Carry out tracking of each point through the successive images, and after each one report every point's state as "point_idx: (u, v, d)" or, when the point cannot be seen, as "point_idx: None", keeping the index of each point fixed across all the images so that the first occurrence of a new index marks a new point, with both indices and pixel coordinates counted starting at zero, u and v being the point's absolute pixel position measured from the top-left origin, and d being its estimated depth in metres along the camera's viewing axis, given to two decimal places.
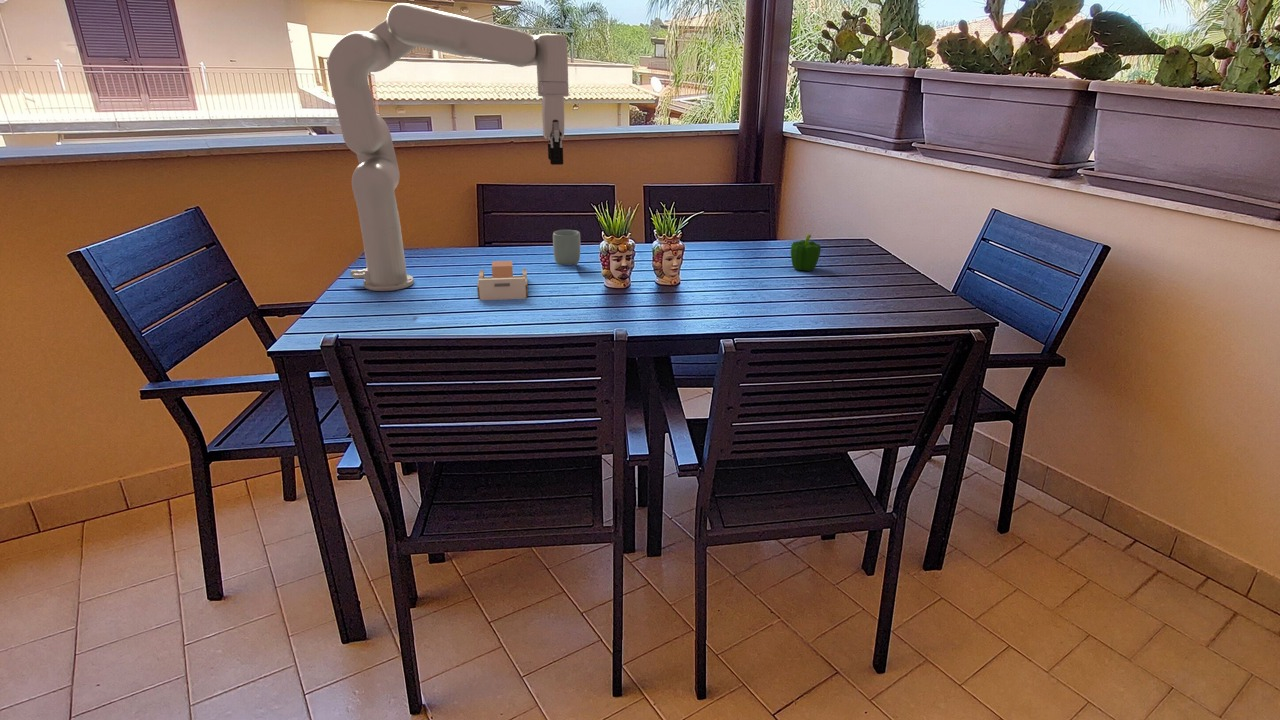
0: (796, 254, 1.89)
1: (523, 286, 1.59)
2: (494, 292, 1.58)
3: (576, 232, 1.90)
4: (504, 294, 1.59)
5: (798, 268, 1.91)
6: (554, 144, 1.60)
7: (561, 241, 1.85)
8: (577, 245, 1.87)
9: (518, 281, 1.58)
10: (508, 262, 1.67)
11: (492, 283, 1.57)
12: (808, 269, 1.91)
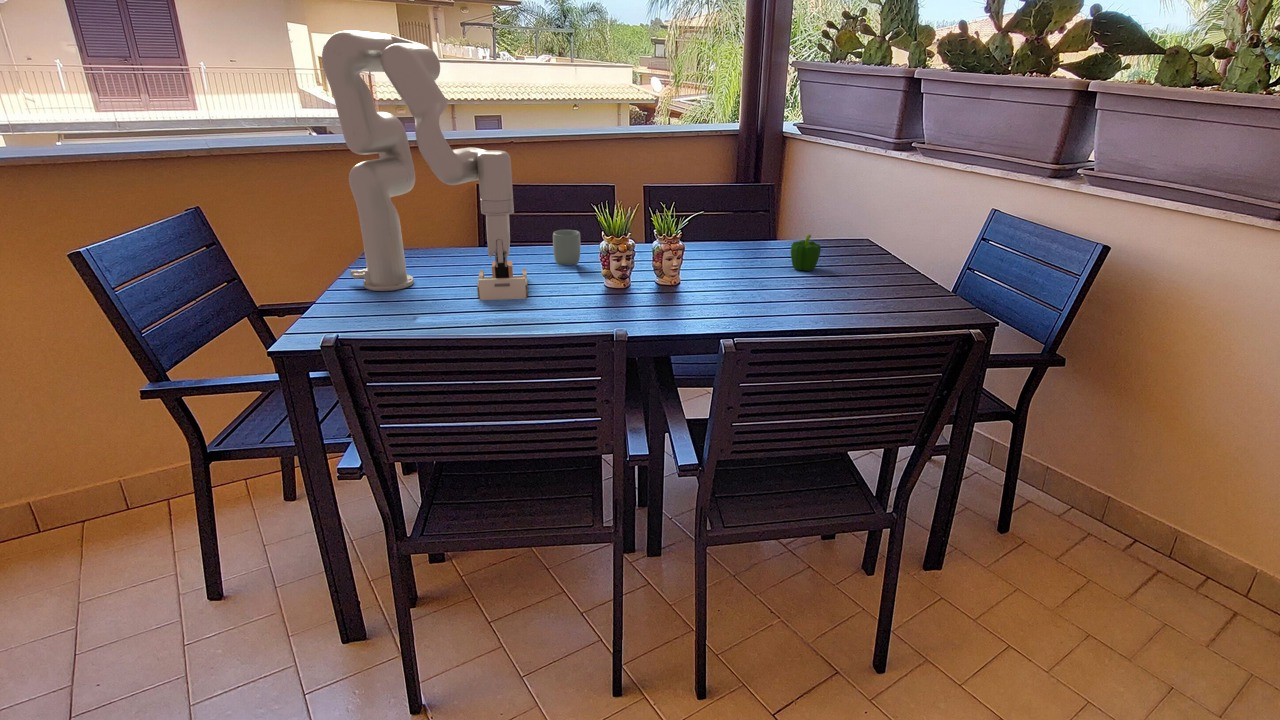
0: (796, 254, 1.89)
1: (523, 286, 1.59)
2: (494, 292, 1.58)
3: (576, 232, 1.90)
4: (504, 294, 1.59)
5: (798, 268, 1.91)
6: (498, 264, 1.56)
7: (561, 241, 1.85)
8: (577, 245, 1.87)
9: (518, 281, 1.58)
10: (508, 262, 1.67)
11: (492, 283, 1.57)
12: (808, 269, 1.91)
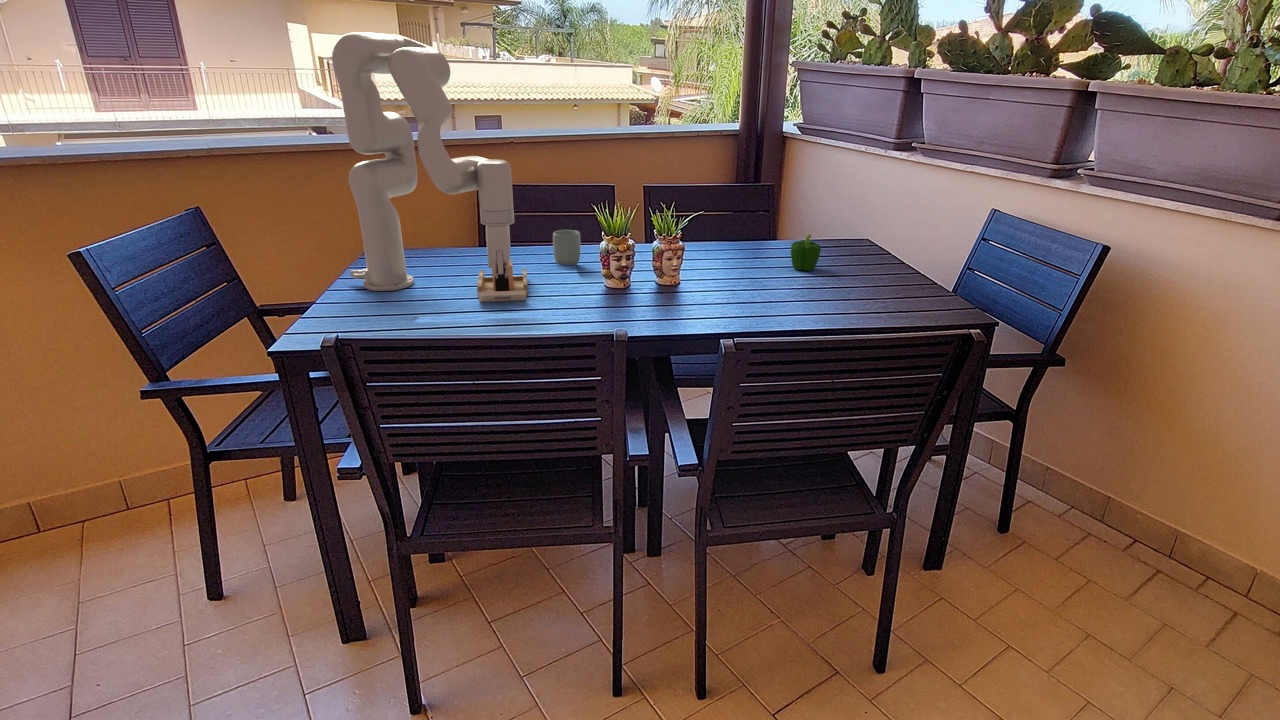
0: (796, 254, 1.89)
1: (524, 297, 1.57)
2: (494, 300, 1.57)
3: (576, 232, 1.90)
4: None
5: (798, 268, 1.91)
6: (499, 276, 1.53)
7: (561, 241, 1.85)
8: (577, 245, 1.87)
9: (519, 295, 1.56)
10: None
11: (492, 297, 1.55)
12: (808, 269, 1.91)
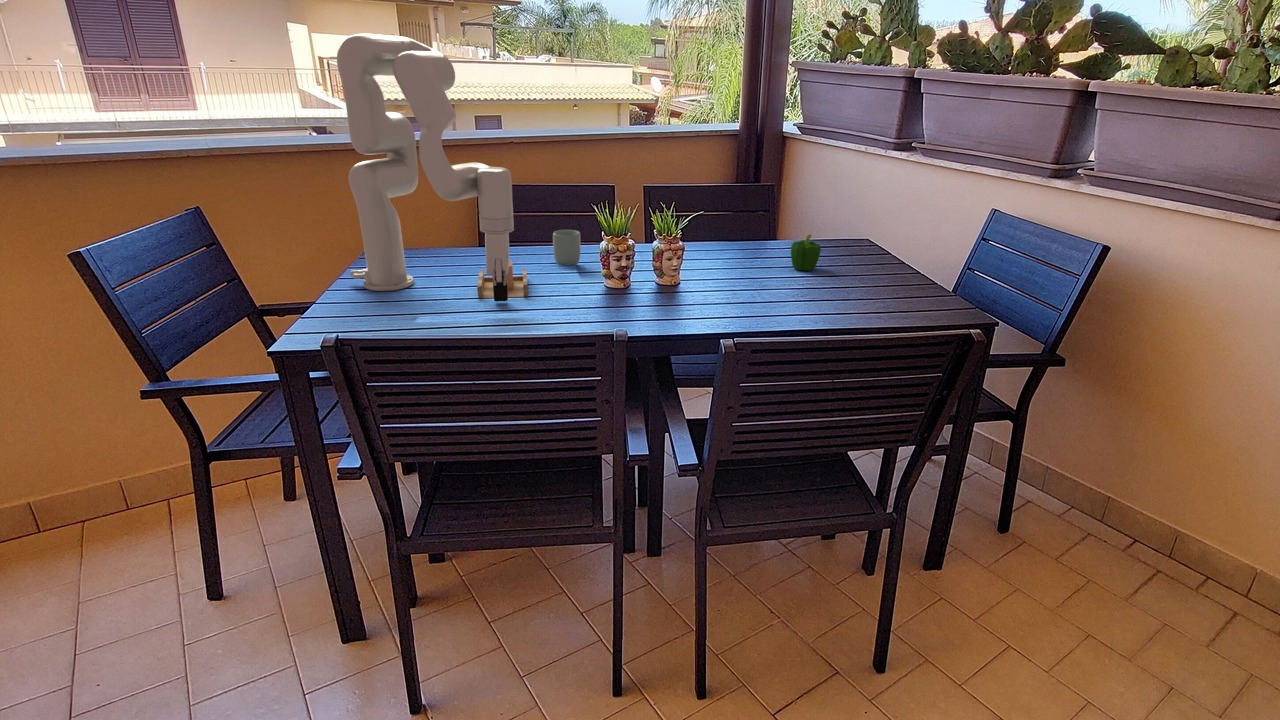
0: (796, 254, 1.89)
1: None
2: None
3: (576, 232, 1.90)
4: None
5: (798, 268, 1.91)
6: (497, 283, 1.52)
7: (561, 241, 1.85)
8: (577, 245, 1.87)
9: None
10: None
11: None
12: (808, 269, 1.91)
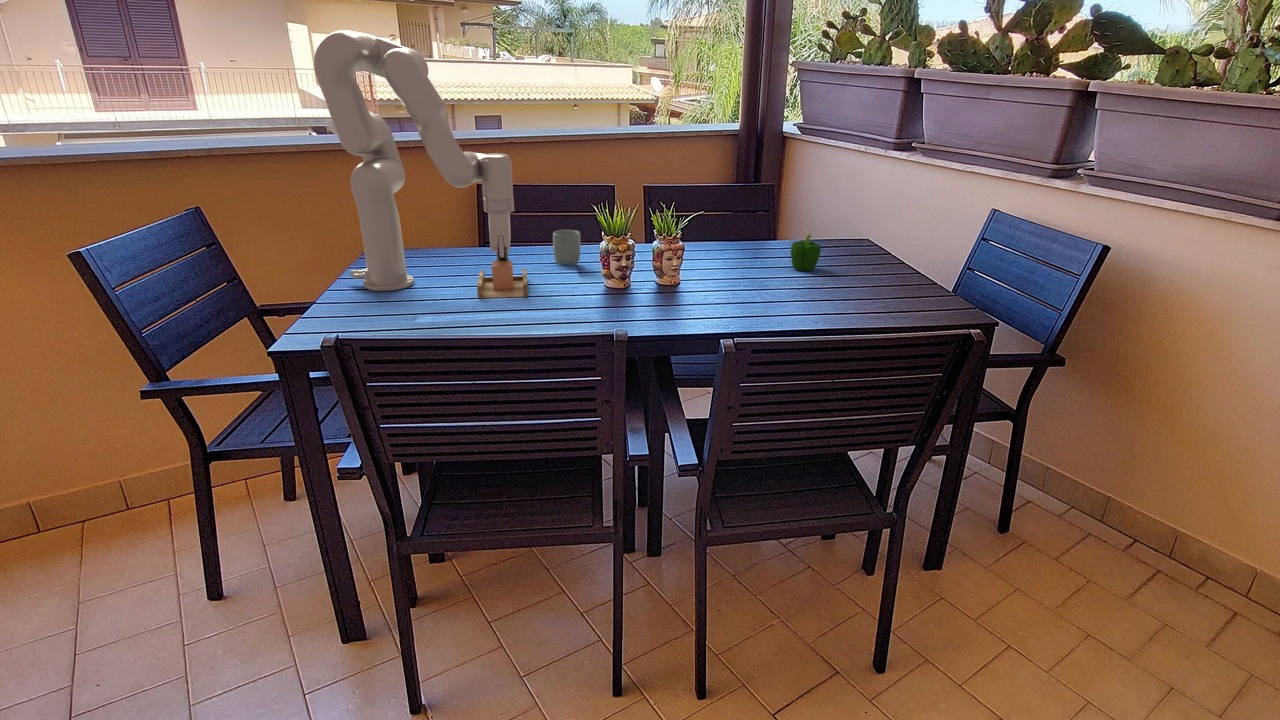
0: (796, 254, 1.89)
1: None
2: None
3: (576, 232, 1.90)
4: None
5: (798, 268, 1.91)
6: (500, 259, 1.68)
7: (561, 241, 1.85)
8: (577, 245, 1.87)
9: None
10: (508, 262, 1.67)
11: None
12: (808, 269, 1.91)
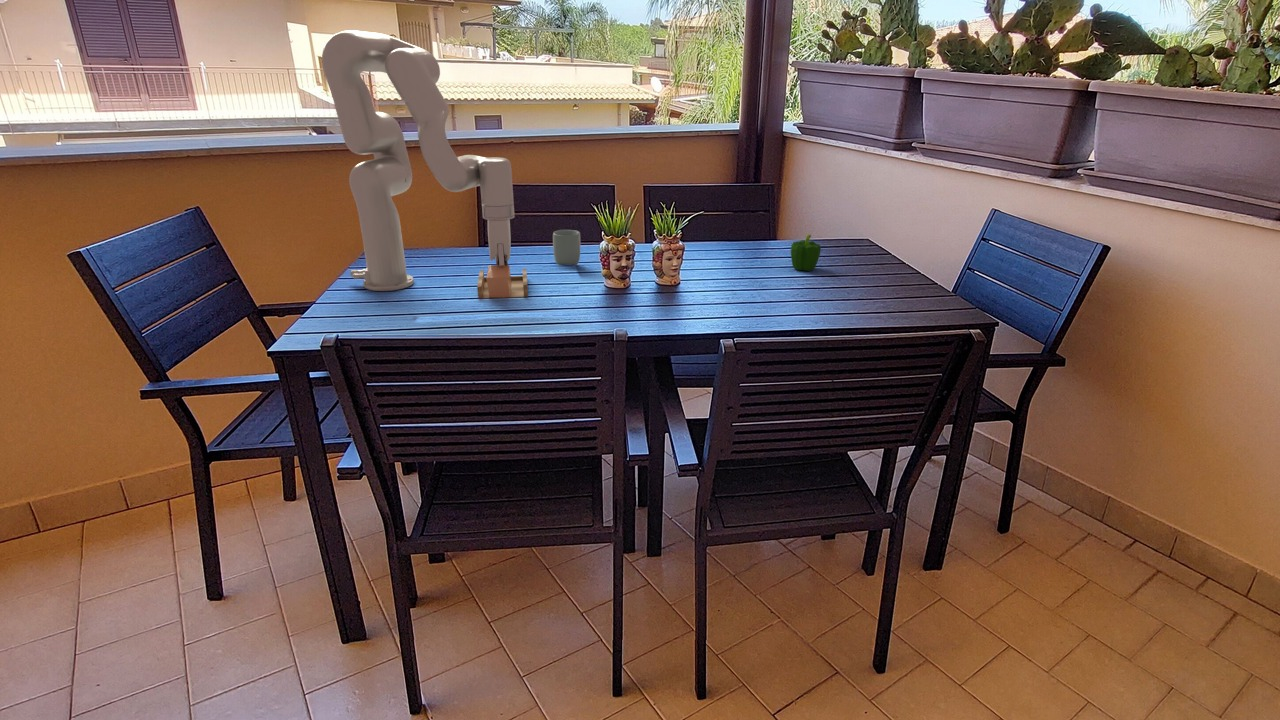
0: (796, 254, 1.89)
1: None
2: None
3: (576, 232, 1.90)
4: None
5: (798, 268, 1.91)
6: None
7: (561, 241, 1.85)
8: (577, 245, 1.87)
9: None
10: (505, 269, 1.59)
11: None
12: (808, 269, 1.91)
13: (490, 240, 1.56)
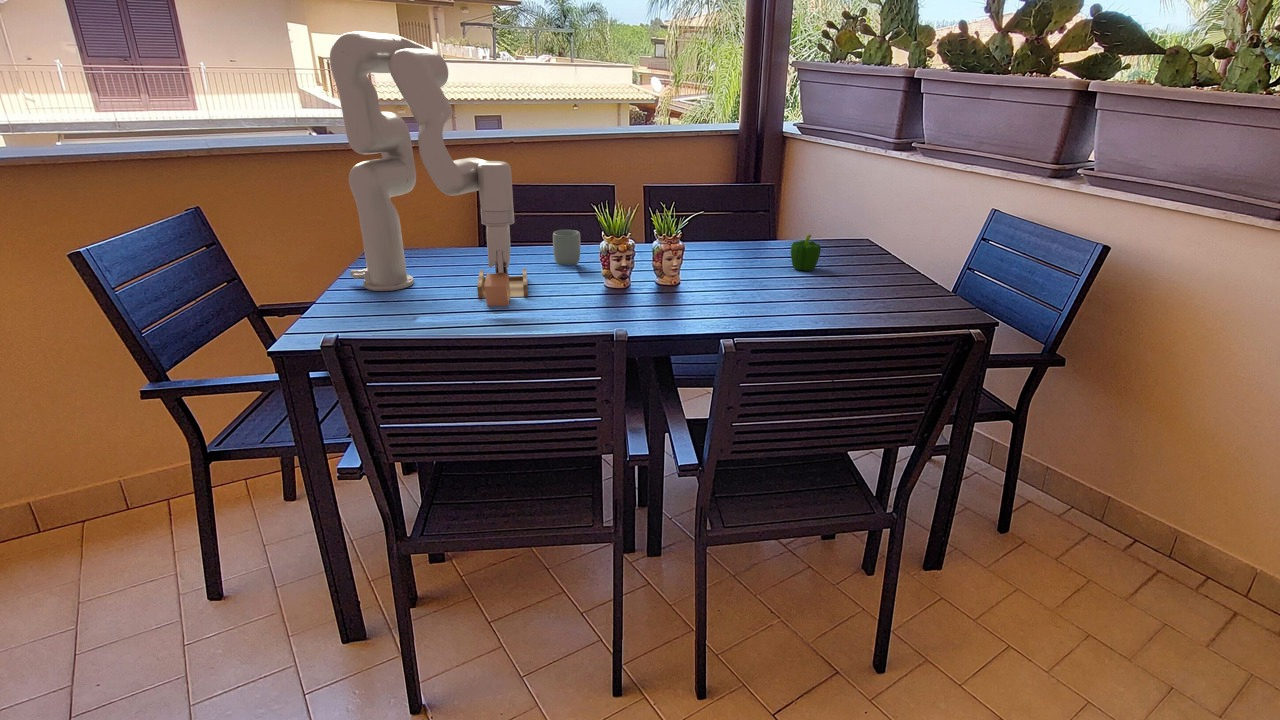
0: (796, 254, 1.89)
1: None
2: None
3: (576, 232, 1.90)
4: None
5: (798, 268, 1.91)
6: None
7: (561, 241, 1.85)
8: (577, 245, 1.87)
9: None
10: (503, 277, 1.54)
11: None
12: (808, 269, 1.91)
13: (489, 246, 1.50)
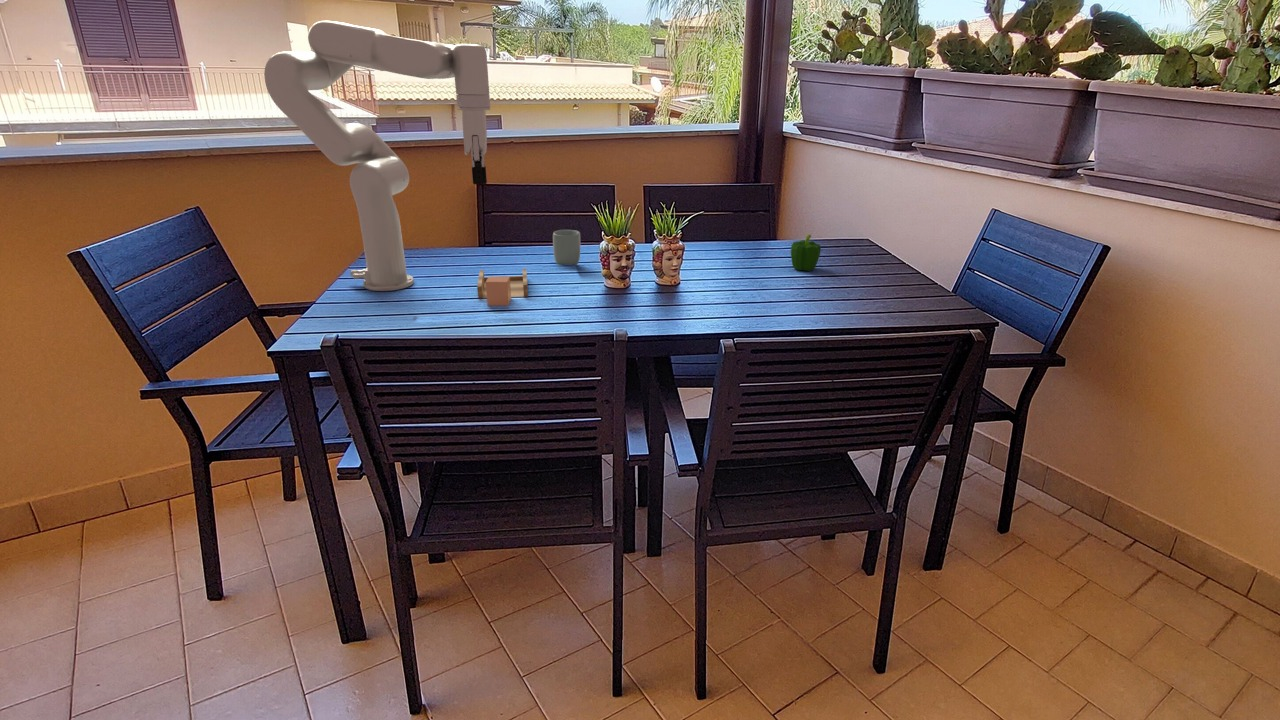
0: (796, 254, 1.89)
1: None
2: None
3: (576, 232, 1.90)
4: None
5: (798, 268, 1.91)
6: (475, 164, 1.55)
7: (561, 241, 1.85)
8: (577, 245, 1.87)
9: None
10: (505, 278, 1.56)
11: None
12: (808, 269, 1.91)
13: (464, 131, 1.50)
